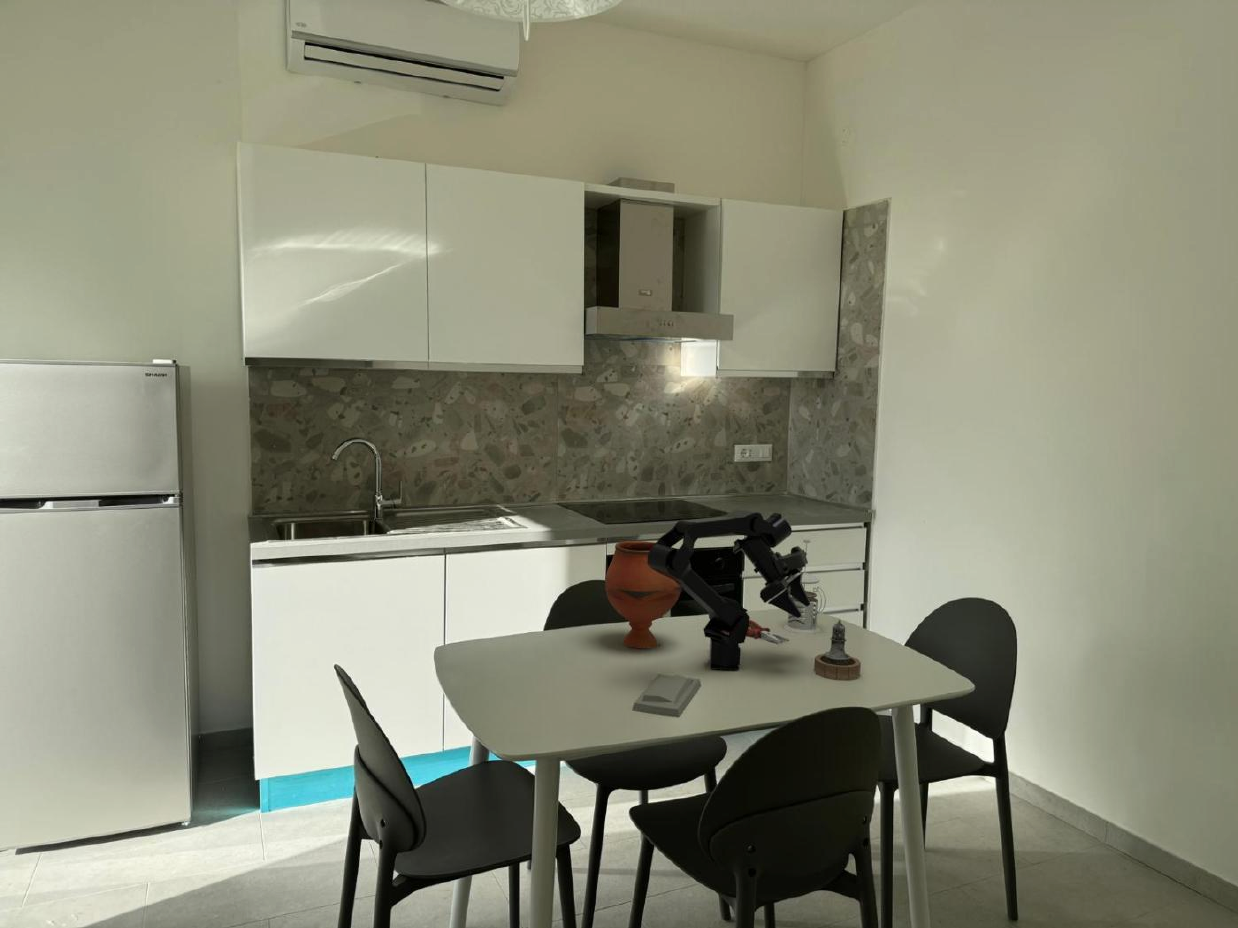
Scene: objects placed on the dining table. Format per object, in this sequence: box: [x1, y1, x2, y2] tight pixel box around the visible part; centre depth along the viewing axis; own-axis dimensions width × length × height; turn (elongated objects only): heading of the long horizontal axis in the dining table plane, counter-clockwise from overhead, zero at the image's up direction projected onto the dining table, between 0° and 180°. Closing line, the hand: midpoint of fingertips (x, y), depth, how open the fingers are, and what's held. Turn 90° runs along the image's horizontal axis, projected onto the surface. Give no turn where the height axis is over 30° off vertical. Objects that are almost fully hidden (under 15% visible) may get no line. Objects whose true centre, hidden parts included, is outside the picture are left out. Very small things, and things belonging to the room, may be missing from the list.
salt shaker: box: [823, 619, 851, 666], centre depth 206 cm, size 6×6×12 cm
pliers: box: [722, 619, 790, 644], centre depth 236 cm, size 12×20×3 cm, turn 40°
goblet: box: [604, 540, 683, 649], centre depth 224 cm, size 19×19×25 cm
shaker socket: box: [813, 653, 862, 681], centre depth 207 cm, size 10×10×3 cm
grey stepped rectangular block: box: [631, 673, 702, 718], centre depth 187 cm, size 10×20×4 cm, turn 162°
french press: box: [783, 537, 827, 635], centre depth 243 cm, size 10×12×25 cm
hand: (804, 610), depth 209 cm, fingers open, 9 cm apart
